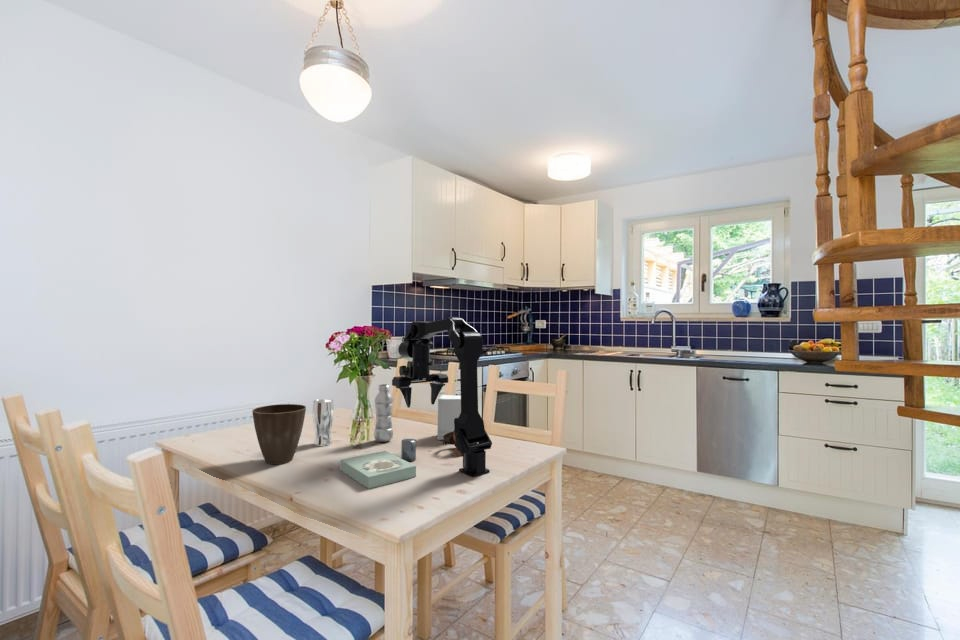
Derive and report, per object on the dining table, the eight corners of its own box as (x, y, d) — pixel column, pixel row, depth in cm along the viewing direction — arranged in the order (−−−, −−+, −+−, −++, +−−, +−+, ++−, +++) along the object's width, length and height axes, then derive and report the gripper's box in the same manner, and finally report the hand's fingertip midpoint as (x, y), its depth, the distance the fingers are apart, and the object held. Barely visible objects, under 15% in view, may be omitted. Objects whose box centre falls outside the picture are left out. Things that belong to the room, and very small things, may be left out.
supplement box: (461, 441, 157) (461, 399, 157) (437, 440, 158) (437, 398, 158) (465, 434, 166) (465, 395, 166) (441, 433, 167) (442, 394, 167)
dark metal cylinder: (418, 460, 135) (418, 440, 135) (406, 463, 132) (406, 443, 132) (411, 457, 139) (411, 437, 139) (398, 459, 136) (398, 440, 136)
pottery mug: (446, 459, 138) (439, 433, 142) (447, 463, 147) (441, 439, 150) (483, 448, 140) (475, 423, 143) (482, 453, 148) (474, 429, 152)
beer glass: (312, 442, 155) (313, 399, 155) (333, 440, 157) (333, 398, 157) (311, 447, 148) (311, 403, 148) (333, 445, 150) (333, 402, 150)
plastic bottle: (372, 439, 158) (373, 384, 158) (391, 438, 161) (392, 383, 161) (375, 444, 152) (375, 386, 152) (394, 442, 155) (395, 385, 155)
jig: (415, 476, 121) (416, 465, 121) (368, 488, 112) (368, 477, 112) (384, 460, 135) (384, 450, 135) (340, 470, 126) (340, 459, 126)
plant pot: (258, 455, 139) (258, 404, 139) (308, 451, 143) (308, 402, 143) (246, 470, 125) (246, 414, 125) (302, 466, 129) (302, 411, 129)
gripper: (432, 356, 159) (431, 399, 159) (384, 358, 147) (384, 405, 147) (449, 358, 150) (449, 404, 150) (400, 361, 139) (400, 410, 138)
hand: (420, 405), depth 147 cm, fingers open, 9 cm apart
